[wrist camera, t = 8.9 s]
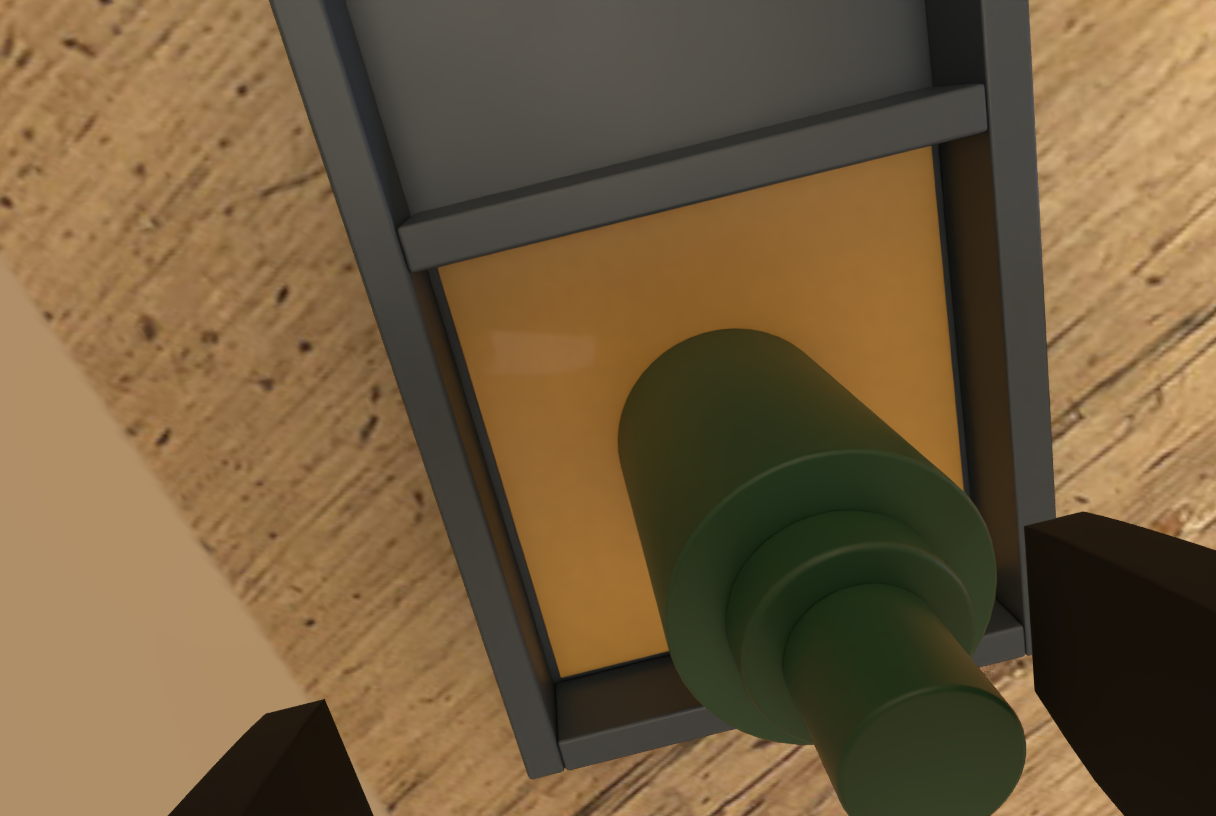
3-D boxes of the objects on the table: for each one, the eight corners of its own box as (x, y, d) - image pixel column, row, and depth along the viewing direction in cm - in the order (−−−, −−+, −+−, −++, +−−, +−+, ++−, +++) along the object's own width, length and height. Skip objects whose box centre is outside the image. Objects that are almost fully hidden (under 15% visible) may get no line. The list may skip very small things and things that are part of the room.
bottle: (701, 574, 19) (860, 1000, 10) (571, 420, 17) (618, 753, 8) (876, 450, 18) (1220, 784, 9) (758, 280, 17) (1027, 477, 8)
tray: (529, 707, 20) (529, 781, 18) (139, -504, 12) (53, -640, 10) (1003, 588, 20) (1064, 648, 18) (902, -687, 13) (984, -863, 10)
